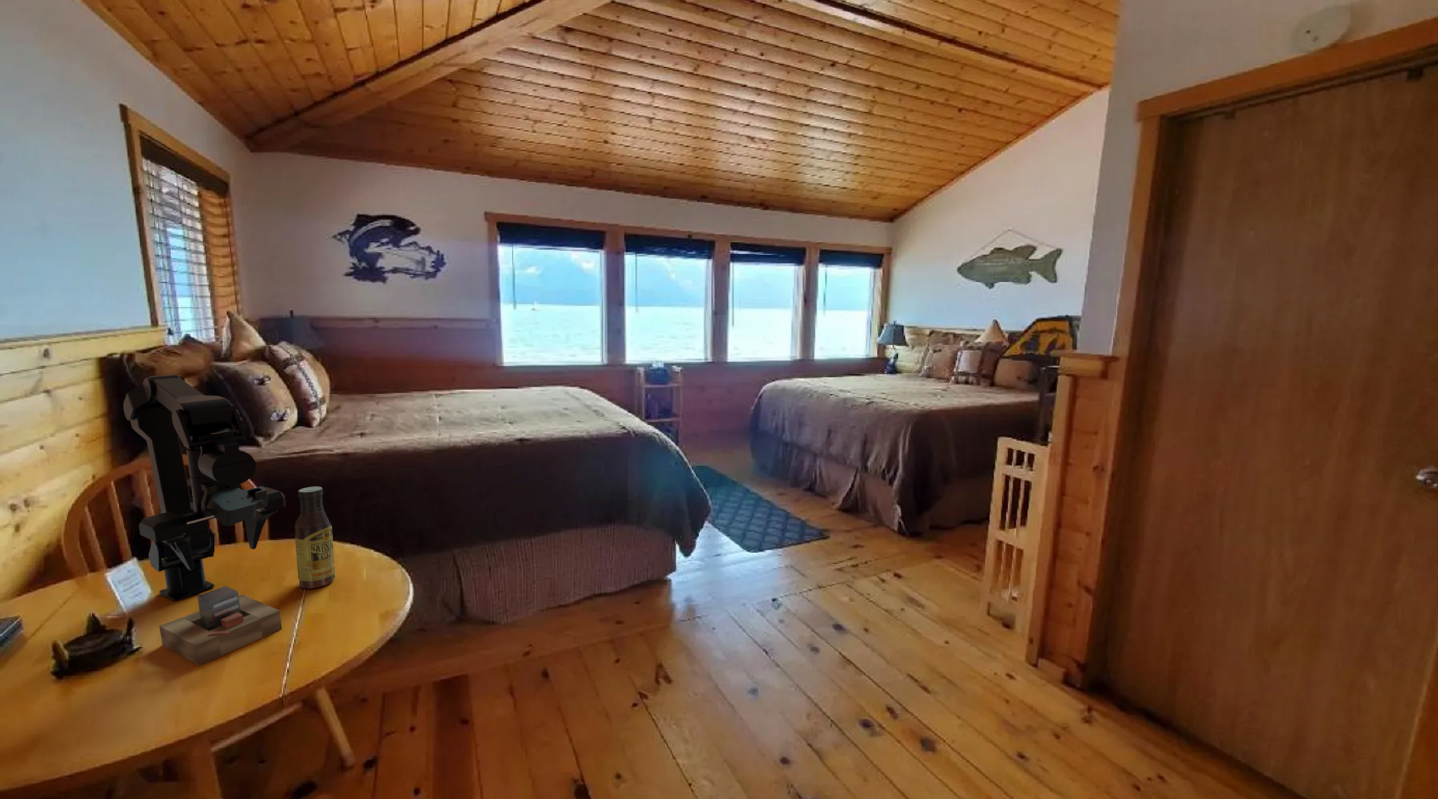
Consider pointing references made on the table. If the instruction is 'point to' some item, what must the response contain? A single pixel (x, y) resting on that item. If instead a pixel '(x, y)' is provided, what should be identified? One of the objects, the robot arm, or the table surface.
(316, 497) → the sauce bottle
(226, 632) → the stand base
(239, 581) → the table surface
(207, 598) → the column
